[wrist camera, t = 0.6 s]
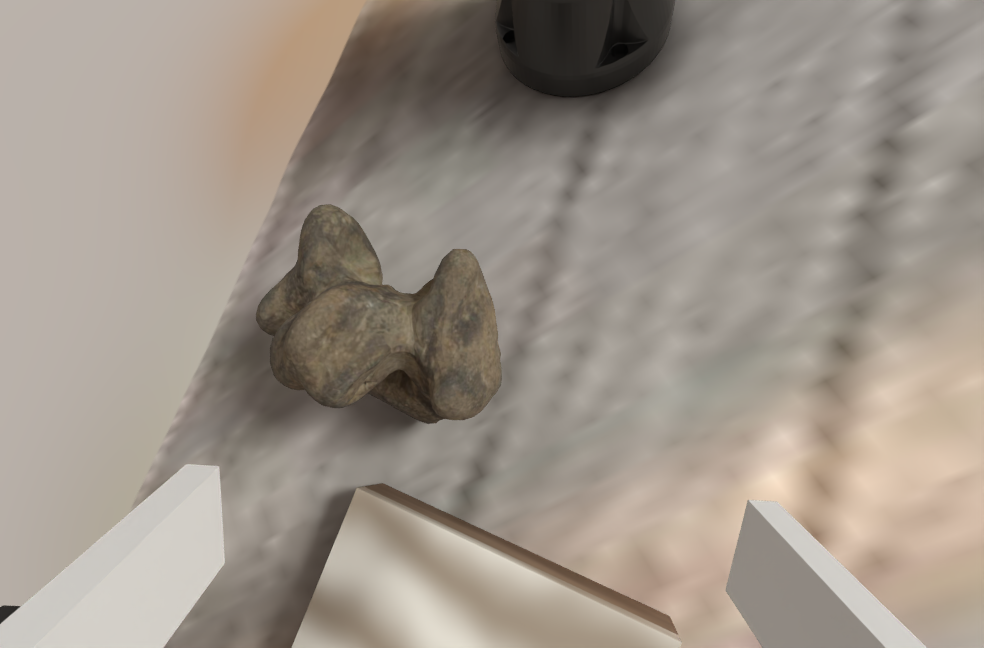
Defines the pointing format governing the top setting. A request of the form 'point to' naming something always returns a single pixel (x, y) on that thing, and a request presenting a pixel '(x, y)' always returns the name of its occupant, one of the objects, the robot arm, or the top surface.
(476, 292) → the decorative stone
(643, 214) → the top surface
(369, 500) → the block
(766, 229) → the top surface
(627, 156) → the top surface
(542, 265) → the top surface
